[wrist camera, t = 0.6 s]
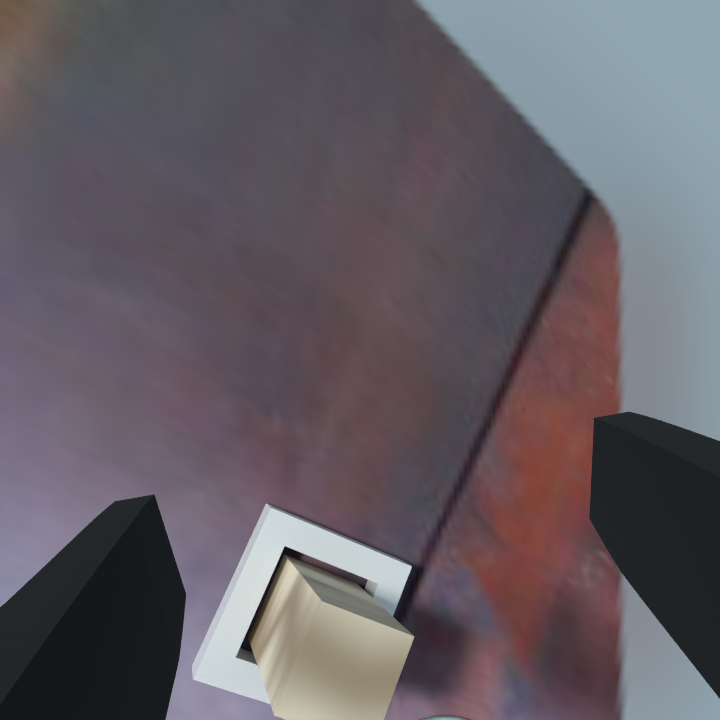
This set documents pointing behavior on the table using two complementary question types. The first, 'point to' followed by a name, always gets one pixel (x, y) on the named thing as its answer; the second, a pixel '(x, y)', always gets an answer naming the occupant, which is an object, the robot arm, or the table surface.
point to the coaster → (444, 718)
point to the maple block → (326, 647)
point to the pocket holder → (273, 531)
